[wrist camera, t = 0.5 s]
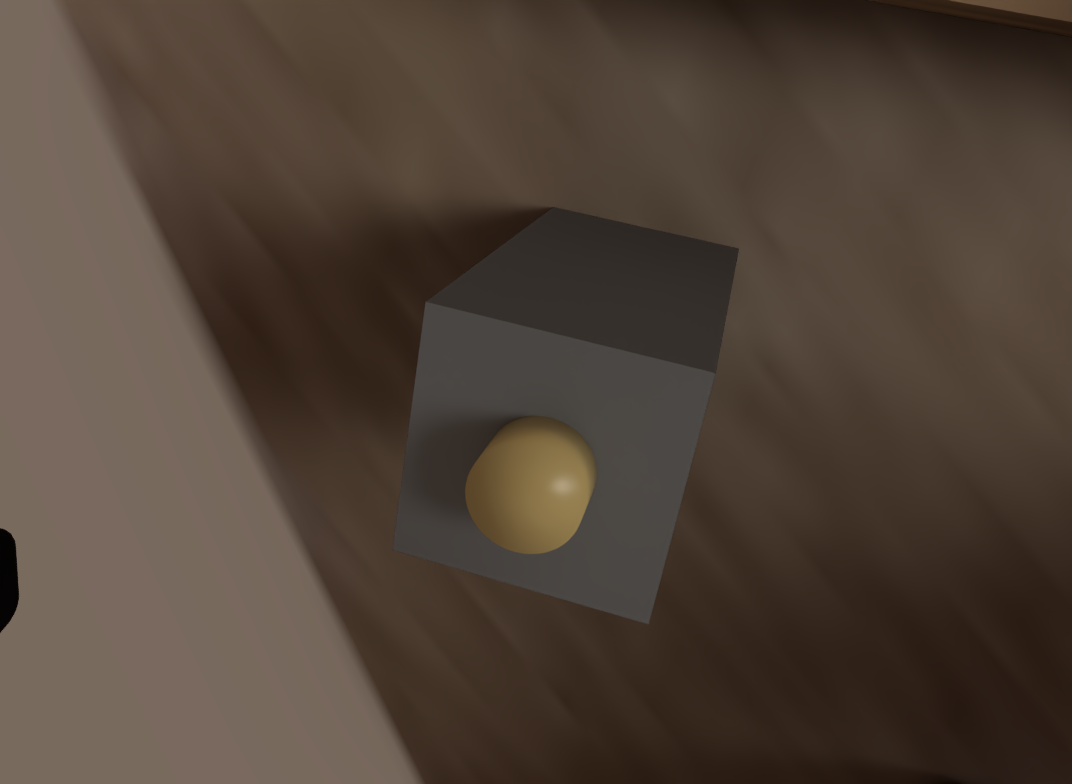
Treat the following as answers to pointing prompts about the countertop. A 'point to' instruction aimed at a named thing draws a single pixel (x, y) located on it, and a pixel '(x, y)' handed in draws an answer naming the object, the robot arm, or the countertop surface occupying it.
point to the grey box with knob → (564, 408)
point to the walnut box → (1002, 12)
